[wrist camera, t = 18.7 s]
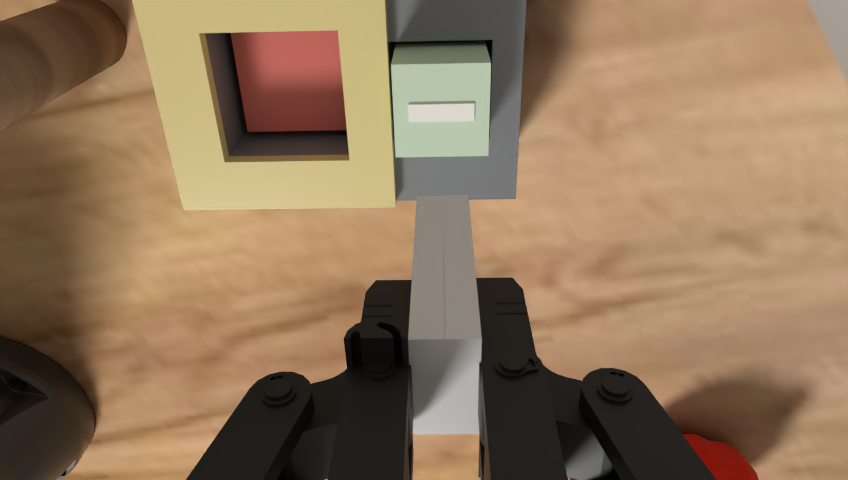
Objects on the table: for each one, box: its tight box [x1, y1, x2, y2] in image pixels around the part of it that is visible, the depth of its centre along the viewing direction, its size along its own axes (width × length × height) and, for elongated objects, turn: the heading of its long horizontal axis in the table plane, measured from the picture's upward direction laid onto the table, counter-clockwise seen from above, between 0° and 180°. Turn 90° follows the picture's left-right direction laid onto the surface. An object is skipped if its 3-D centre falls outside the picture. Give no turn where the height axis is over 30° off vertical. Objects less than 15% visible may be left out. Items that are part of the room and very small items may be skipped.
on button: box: [391, 41, 491, 157], centre depth 30 cm, size 4×4×4 cm
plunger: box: [231, 30, 347, 132], centre depth 35 cm, size 6×6×2 cm
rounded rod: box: [0, 0, 126, 131], centre depth 29 cm, size 4×4×16 cm
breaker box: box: [132, 0, 527, 210], centre depth 34 cm, size 18×12×7 cm, turn 91°
